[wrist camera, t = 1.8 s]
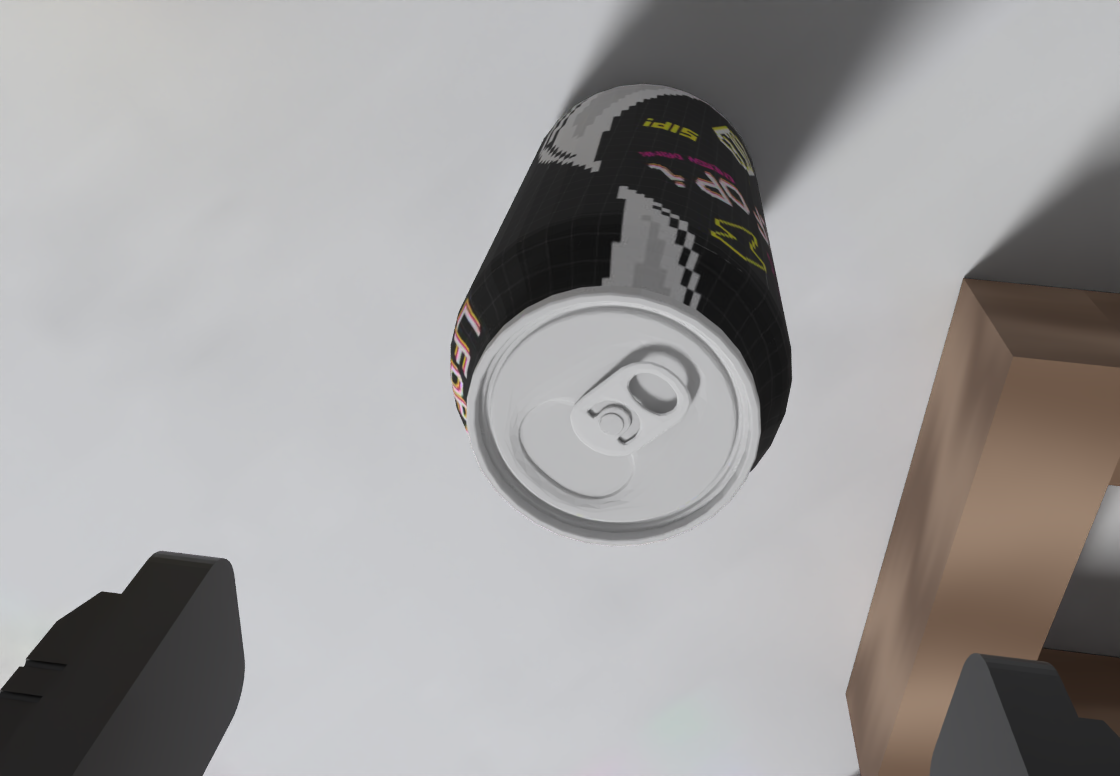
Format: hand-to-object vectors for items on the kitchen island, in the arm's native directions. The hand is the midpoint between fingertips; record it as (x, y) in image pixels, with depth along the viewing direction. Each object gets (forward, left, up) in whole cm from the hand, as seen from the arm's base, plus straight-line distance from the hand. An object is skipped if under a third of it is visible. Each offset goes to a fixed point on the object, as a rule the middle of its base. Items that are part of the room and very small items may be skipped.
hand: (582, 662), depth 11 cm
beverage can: (0, 0, -17) cm, 17 cm away
